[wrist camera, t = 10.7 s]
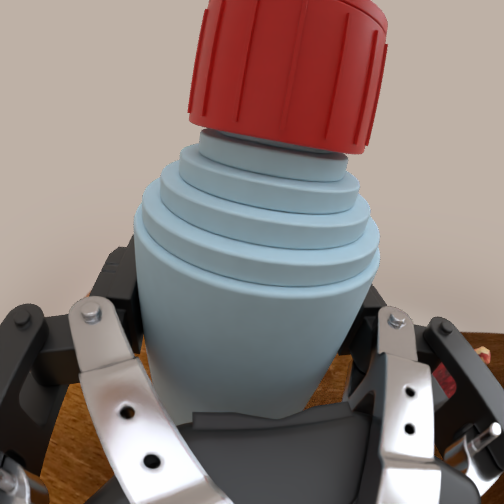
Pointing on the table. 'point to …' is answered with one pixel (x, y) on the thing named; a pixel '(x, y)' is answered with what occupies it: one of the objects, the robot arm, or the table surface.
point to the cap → (291, 71)
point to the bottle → (250, 273)
